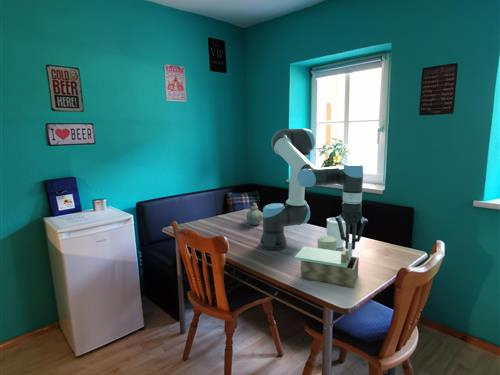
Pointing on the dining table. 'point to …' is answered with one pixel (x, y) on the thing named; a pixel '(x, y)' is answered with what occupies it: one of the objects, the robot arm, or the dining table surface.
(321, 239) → the can
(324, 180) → the robot arm
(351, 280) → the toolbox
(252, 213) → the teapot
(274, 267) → the dining table surface
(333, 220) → the jar
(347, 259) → the lid
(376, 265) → the dining table surface
